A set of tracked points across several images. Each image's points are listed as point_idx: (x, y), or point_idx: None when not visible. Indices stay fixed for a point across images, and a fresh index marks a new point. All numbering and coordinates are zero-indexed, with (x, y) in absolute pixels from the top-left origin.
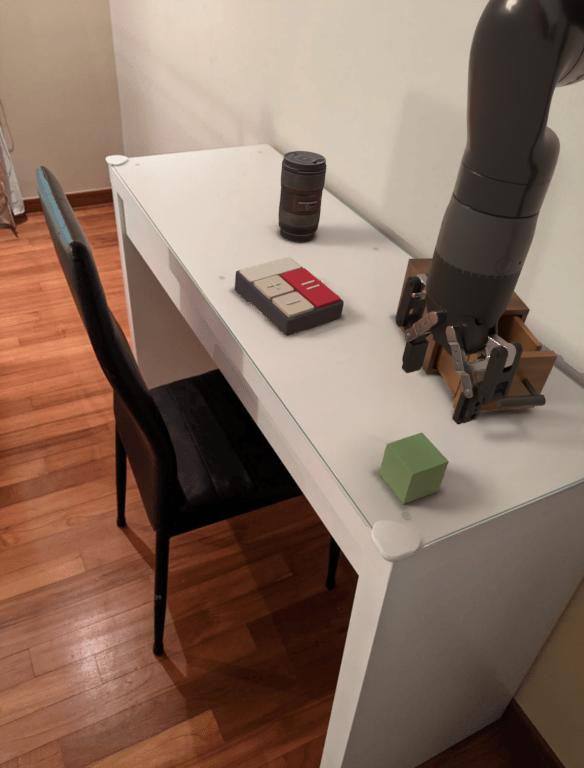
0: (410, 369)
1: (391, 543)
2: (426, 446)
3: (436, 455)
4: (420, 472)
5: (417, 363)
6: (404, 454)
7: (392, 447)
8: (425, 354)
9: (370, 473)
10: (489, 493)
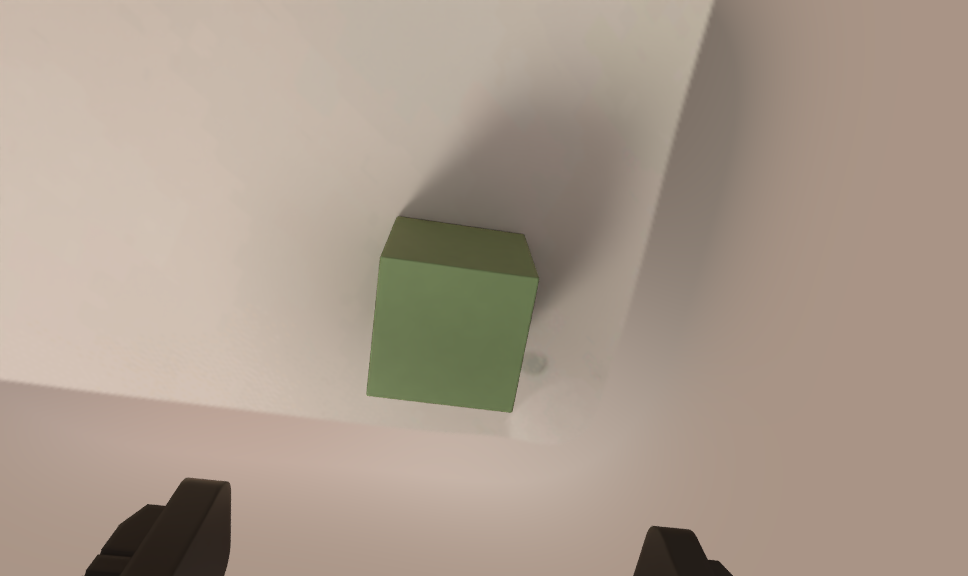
0: (221, 555)
1: (570, 439)
2: (444, 294)
3: (495, 295)
4: (517, 383)
5: (209, 549)
6: (434, 380)
7: (389, 391)
8: (182, 559)
9: None
10: (622, 99)
